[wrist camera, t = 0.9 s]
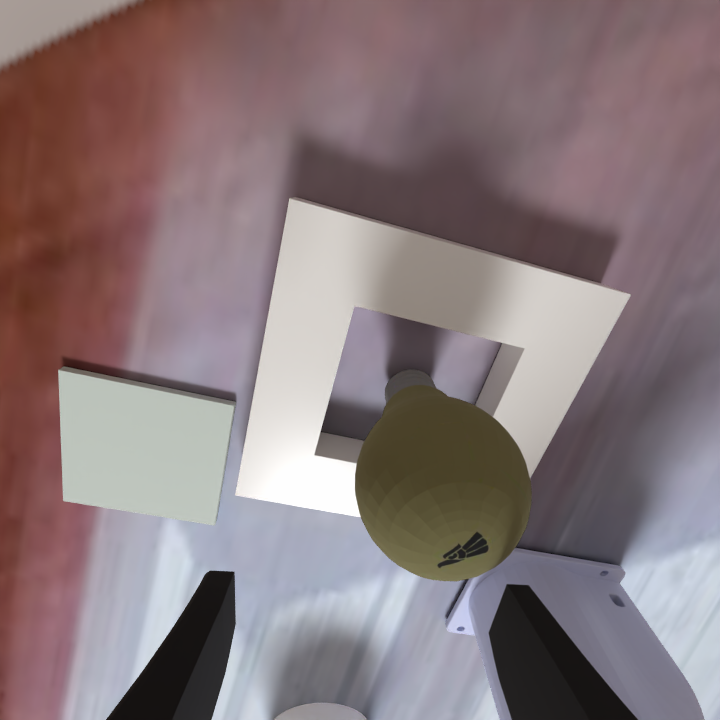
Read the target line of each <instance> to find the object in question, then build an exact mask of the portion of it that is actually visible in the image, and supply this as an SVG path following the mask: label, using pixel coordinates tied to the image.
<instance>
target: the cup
mask: <svg viewBox="0 0 720 720" xmlns="http://www.w3.org/2000/svg"><path fill="white" fill-rule="evenodd" d="M274 720H367V718H366V717H365V716H364V715H363V714H362V713H360V712H359V711H357V710H355V709H353V708H350V707H348V706H345V705H340V704H335V703H310V704H304V705H300V706H296V707H293V708H291V709H288V710H286V711H284V712H283V713H281V714H280V715H278V716H277V717H276V718H275V719H274Z"/></svg>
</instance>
